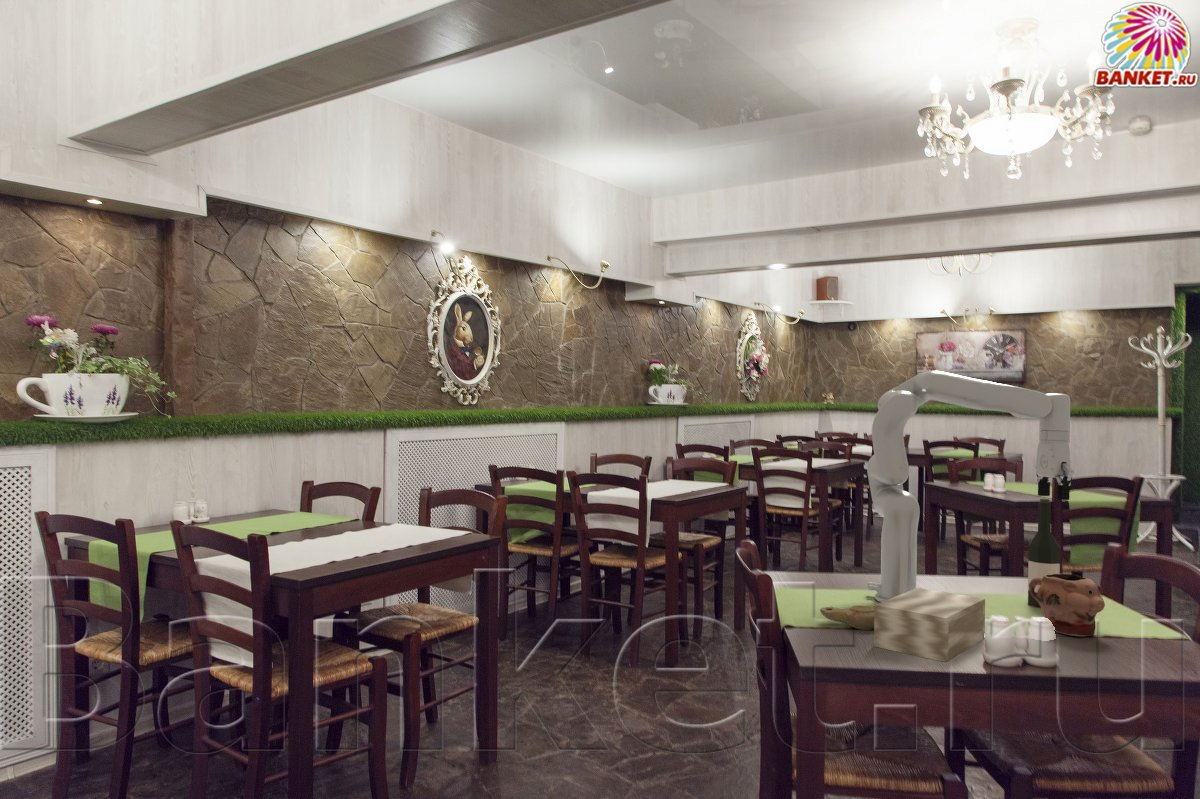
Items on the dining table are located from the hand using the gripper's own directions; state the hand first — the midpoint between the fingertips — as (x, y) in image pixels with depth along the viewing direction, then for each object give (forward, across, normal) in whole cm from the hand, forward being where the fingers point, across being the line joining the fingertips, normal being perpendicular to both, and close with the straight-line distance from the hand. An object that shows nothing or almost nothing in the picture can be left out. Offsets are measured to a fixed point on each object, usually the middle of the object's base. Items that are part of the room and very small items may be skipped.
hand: (1053, 497), depth 227 cm
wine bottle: (+31, -1, -2) cm, 31 cm away
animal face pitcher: (+31, +26, -11) cm, 42 cm away
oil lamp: (+31, +26, -64) cm, 75 cm away
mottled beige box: (+31, +39, -49) cm, 70 cm away
